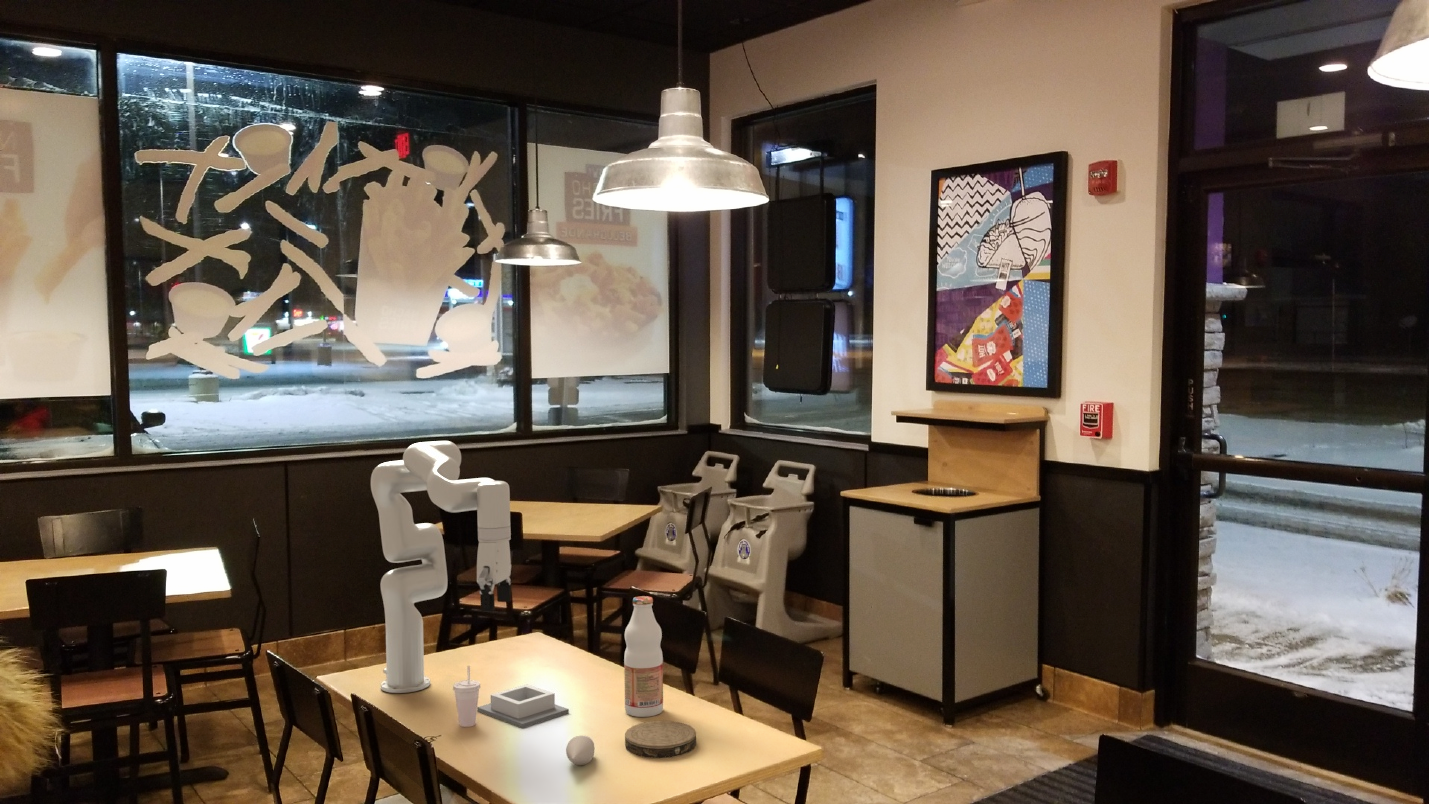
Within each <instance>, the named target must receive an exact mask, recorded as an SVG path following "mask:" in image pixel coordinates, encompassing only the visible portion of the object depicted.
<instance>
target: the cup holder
mask: <svg viewBox="0 0 1429 804" xmlns="http://www.w3.org/2000/svg"><path fill="white" fill-rule="evenodd" d="M555 697H556V696H555V693H554V692H551V691H549V690H545V689H542V688H540V687H537V686H533V685H530V684H522V685H520V686H516V687H513V688H509V689H505V690H502V691H499V692H494V693H492V694H490V703H488V704H484V705H480V706H477V713H481V714H484V715H486V716H488V717H491V718H494V719H497V720H500V721H503V722H506V723H507V724H510V725H513V726H515V727H518V728H521V729H524V728H528V727H530V726H534V725H536V724H540V723H542V722H545V721H549V720H551V719H555V718H557V717H561V716H564V715H567V714H569V713H570V709H569V708H567V707H564V706H561V705H558V704H556V703H555V702H556V701H555V700H556V699H555Z"/></svg>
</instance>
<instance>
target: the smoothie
mask: <svg viewBox="0 0 1429 804" xmlns="http://www.w3.org/2000/svg"><path fill="white" fill-rule="evenodd" d="M470 667H471V666H470V665H467V669H466V670H467V680H460V681H457V682H455V683H453V684H452V690H453V691H454V697H455V703H456V709H457V715H458V723H459V725H458V726H460V727H462V728H469V727H473V726H475V725H476V721H477V720H476V719H477V713H478V711H477V707H478V703H479V695H480V694H479V693H480V689H481V682H480V681H478V680H473V679H471V668H470Z"/></svg>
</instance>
